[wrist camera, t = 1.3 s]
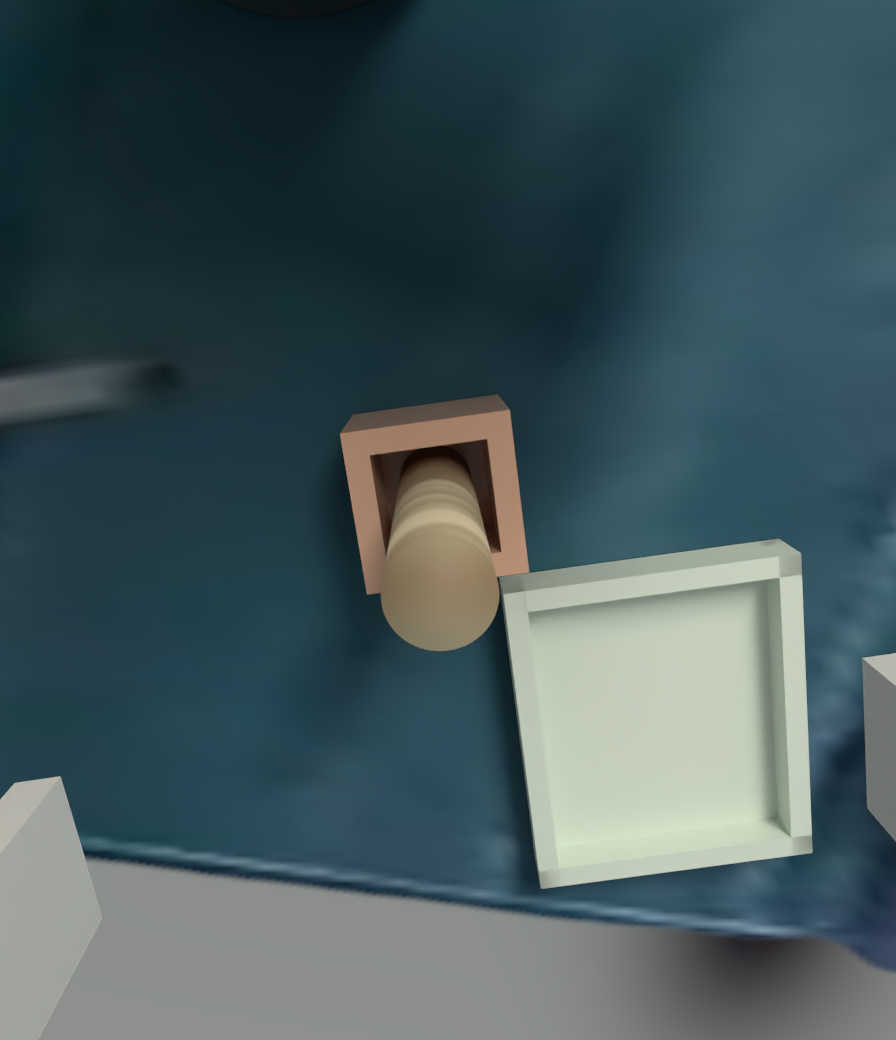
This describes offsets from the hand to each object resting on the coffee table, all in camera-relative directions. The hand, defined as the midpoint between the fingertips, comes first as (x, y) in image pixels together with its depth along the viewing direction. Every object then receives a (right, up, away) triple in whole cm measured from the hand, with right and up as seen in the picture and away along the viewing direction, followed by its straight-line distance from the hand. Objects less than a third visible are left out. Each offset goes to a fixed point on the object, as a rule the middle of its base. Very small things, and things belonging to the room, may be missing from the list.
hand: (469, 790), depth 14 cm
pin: (-1, +6, +25) cm, 26 cm away
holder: (-1, +6, +26) cm, 27 cm away
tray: (+10, -5, +29) cm, 31 cm away
